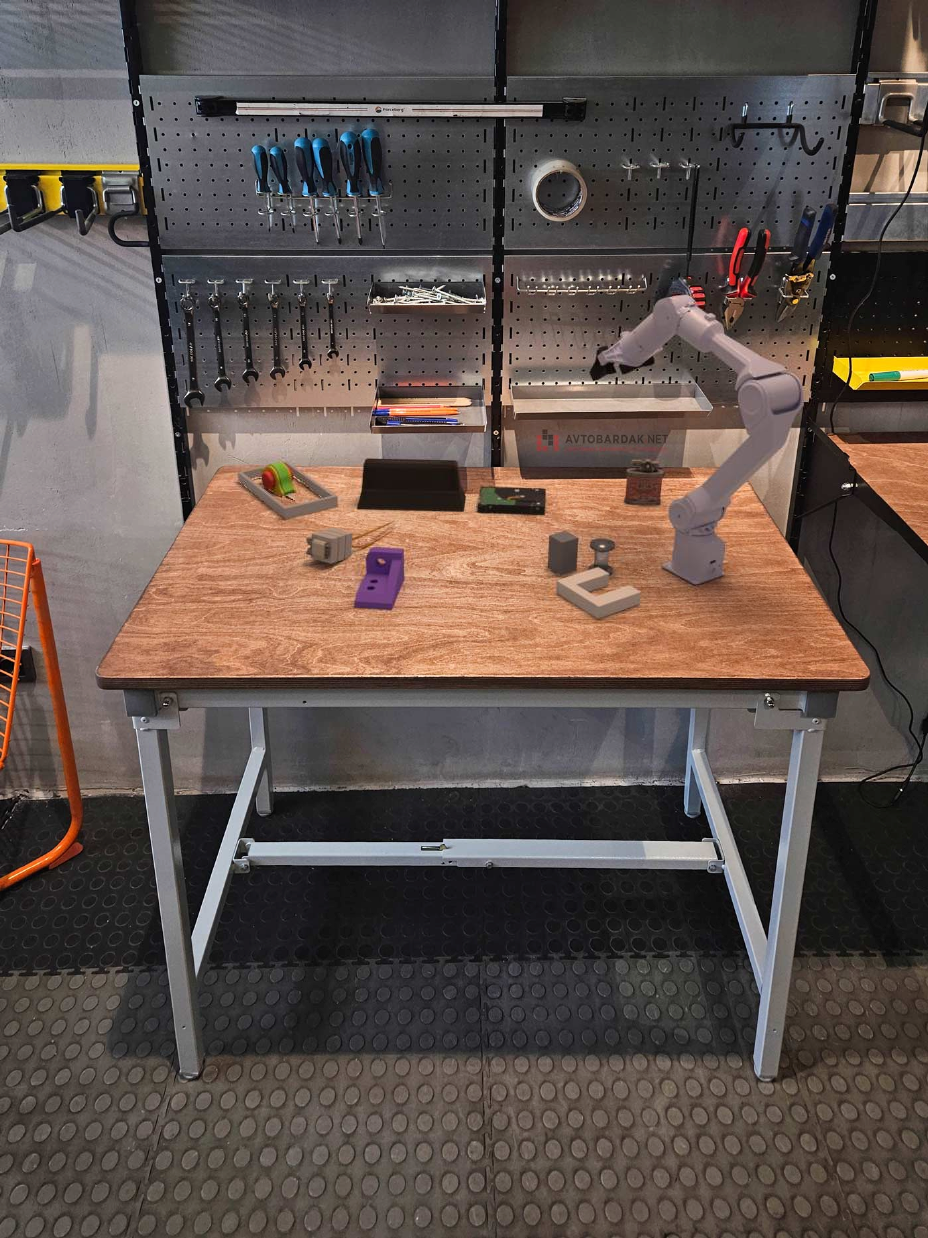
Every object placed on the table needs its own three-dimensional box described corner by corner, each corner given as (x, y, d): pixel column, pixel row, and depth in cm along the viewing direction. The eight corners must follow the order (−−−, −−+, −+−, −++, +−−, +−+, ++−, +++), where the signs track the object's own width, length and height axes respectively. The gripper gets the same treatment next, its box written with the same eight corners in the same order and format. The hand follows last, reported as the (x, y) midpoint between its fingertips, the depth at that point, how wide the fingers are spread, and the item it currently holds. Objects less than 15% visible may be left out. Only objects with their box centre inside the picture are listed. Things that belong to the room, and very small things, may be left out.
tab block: (576, 570, 197) (578, 537, 194) (560, 575, 195) (562, 542, 192) (563, 562, 200) (565, 530, 197) (547, 567, 198) (549, 535, 195)
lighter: (660, 500, 228) (664, 457, 223) (661, 506, 225) (665, 463, 220) (623, 498, 228) (627, 456, 223) (624, 504, 225) (628, 462, 220)
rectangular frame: (338, 506, 224) (337, 496, 223) (285, 519, 218) (284, 508, 217) (288, 471, 242) (287, 461, 241) (238, 481, 236) (237, 471, 235)
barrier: (466, 497, 229) (466, 455, 224) (463, 513, 222) (464, 470, 217) (362, 495, 230) (360, 453, 225) (356, 510, 223) (354, 467, 218)
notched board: (639, 604, 185) (641, 591, 184) (597, 618, 181) (598, 606, 179) (597, 578, 194) (598, 567, 193) (556, 592, 189) (556, 580, 188)
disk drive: (545, 499, 230) (479, 496, 230) (546, 487, 228) (480, 485, 229) (545, 517, 221) (477, 515, 221) (545, 506, 219) (477, 503, 220)
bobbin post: (618, 573, 196) (620, 545, 193) (598, 579, 194) (601, 551, 191) (601, 563, 200) (604, 536, 197) (582, 570, 197) (584, 542, 194)
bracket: (369, 578, 195) (367, 546, 191) (404, 581, 194) (403, 548, 191) (355, 608, 184) (353, 574, 181) (392, 611, 184) (390, 577, 180)
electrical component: (375, 536, 218) (377, 514, 217) (398, 542, 216) (400, 519, 214) (304, 558, 199) (306, 533, 197) (329, 565, 196) (331, 540, 194)
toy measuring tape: (276, 479, 238) (273, 453, 235) (324, 504, 226) (322, 476, 222) (252, 486, 234) (249, 459, 231) (300, 511, 222) (297, 483, 219)
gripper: (666, 314, 194) (626, 349, 205) (609, 324, 187) (571, 360, 198) (681, 347, 193) (640, 380, 205) (624, 359, 186) (585, 393, 198)
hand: (607, 373), depth 202 cm, fingers open, 7 cm apart
